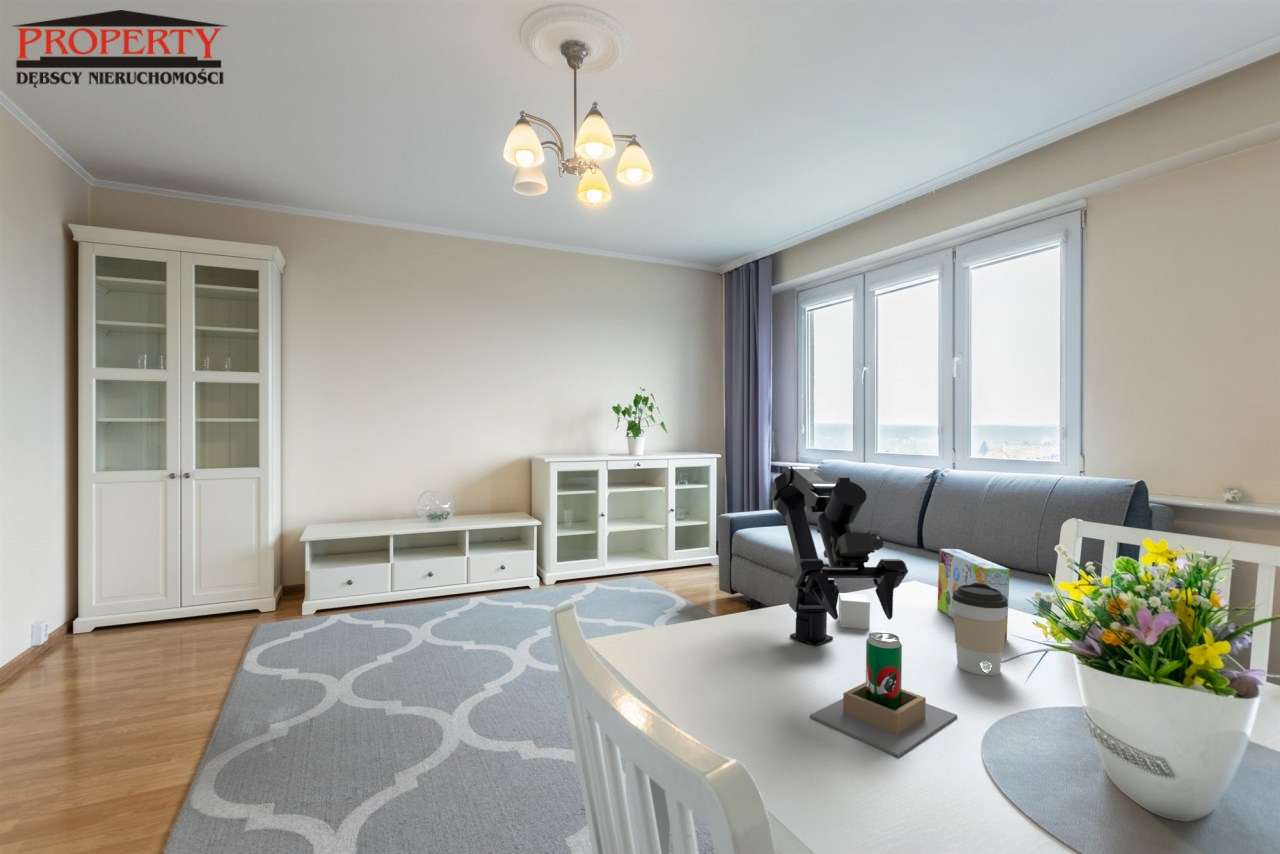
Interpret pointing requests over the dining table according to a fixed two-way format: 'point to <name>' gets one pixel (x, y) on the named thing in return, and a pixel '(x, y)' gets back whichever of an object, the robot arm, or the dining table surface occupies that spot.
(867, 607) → the white cube
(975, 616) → the coffee cup
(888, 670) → the soda can
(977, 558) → the snack box
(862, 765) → the dining table surface
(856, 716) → the can holder
